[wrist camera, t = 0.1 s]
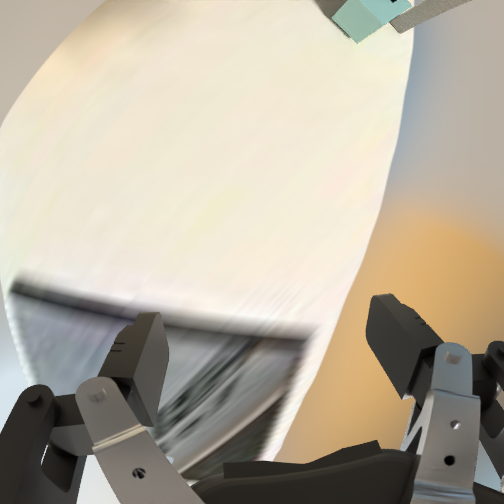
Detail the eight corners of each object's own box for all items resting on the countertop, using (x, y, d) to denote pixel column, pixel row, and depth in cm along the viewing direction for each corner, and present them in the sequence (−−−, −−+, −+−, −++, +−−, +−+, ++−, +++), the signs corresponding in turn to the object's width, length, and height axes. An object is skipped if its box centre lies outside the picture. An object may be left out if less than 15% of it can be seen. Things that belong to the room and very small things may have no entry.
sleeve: (357, 43, 30) (383, 25, 23) (331, 18, 29) (352, -6, 21) (384, 23, 29) (412, 5, 22) (359, -1, 28) (384, -23, 20)
